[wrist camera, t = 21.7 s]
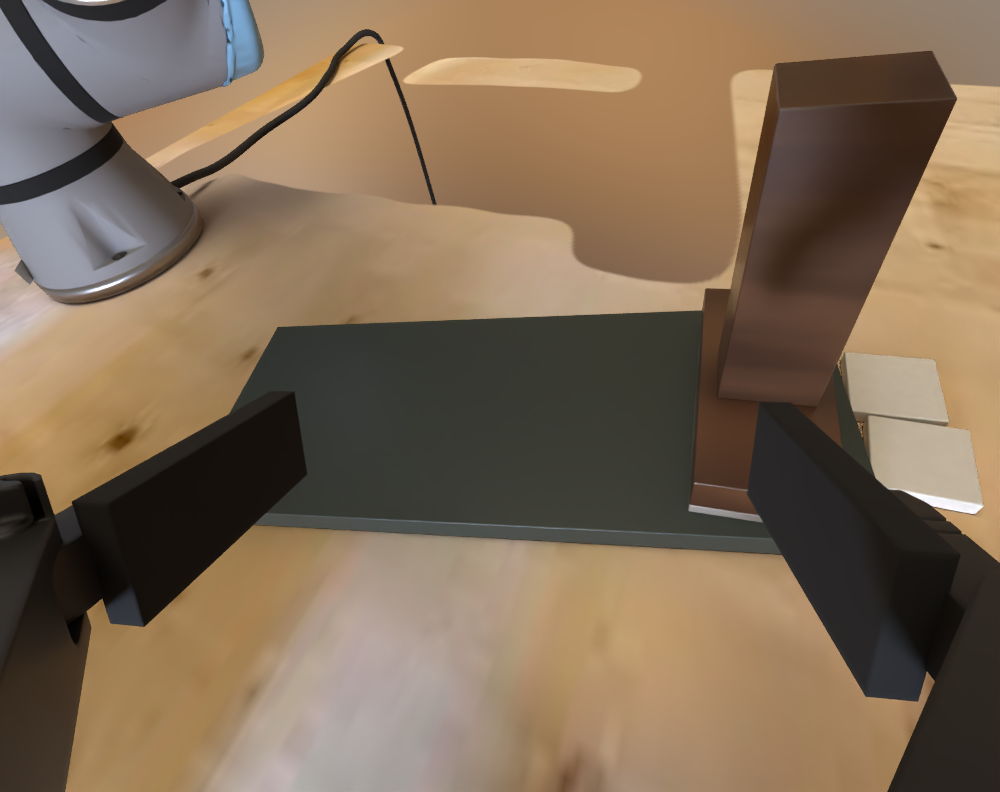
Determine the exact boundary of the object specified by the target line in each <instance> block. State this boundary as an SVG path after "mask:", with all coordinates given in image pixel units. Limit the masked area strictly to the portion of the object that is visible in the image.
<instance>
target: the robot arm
mask: <svg viewBox="0 0 1000 792" xmlns="http://www.w3.org/2000/svg"><path fill="white" fill-rule="evenodd" d="M364 36H372V37H374V38H375V39H376V40H377V42H378V43H379V44H384V42H383V40H382V38H381V37H380V36H379V34H377V33H376V32H375V31H372V30H369V29H368V30H367V29H365V30H362V31H359V32H358V33H356V34H355V35H354V36H353V37H352V38H351V39H350V40H349V41H348V42H347V43H346V45H344V46H343V47H342V48H341V49H340V50H339V51H338V52H337V53H336V54H335V55H334V57H333V59H332V61H331V64H330V66H329V68H328V70H327V71H326V73H325V74H324V76H323V77H322V79H321V80H320V82H319V83H318V85H317V86H316V87H315V88H314V89H313V90H312V91H311V92H310V93H309V94H308V95H307V96H306V97H305V98H304V99H303V100H301V101H300V102H299V103H297V104H296V105H295V106H293V107H292V108H290V109H289V110H287V111H286V112H284V113H283V114H281V115H280V116H278V117H277V118H275V119H274V120H272V121H270V122H269V123H267V124H266V125H265V126H263V127H262V128H260V129H259V130H258V131H257V132H255V133H254V134H253V135H252V136H250V137H249V138H248V139H247V140H246V141H244V142H243V143H242V144H241V145H239V146H238V147H237V148H236V149H234V150H233V151H232V152H230V153H229V154H228V155H227V156H225V157H223V158H222V159H220V160H219V161H217V162H215V163H214V164H212V165H210V166H208V167H205V168H202V169H200V170H197V171H194V172H192V173H190V174H188V175H185V176H183V177H181V178H179V179H177V180H174V181H172V182H169V181H168V180H167V179H166V178H165V177H164V176H163V175H162V174H161V173H160V172H159V171H157V170H156V169H155V168H154V167H153V166H152V165H151V164H149V163H148V162H147V161H146V160H145V159H143V158H142V157H141V156H140V155H139V154H137V153H136V152H135V151H134V150H133V149H131V147H130V146H129V145H128V144H127V143H126V141H125V140H124V138H123V137H122V136H121V134H120V133H119V132H118V130H117V129H116V128H115V126H114V125H113V123H112V122H111V121H113V120H115V119H118V118H122V117H124V116H127V115H131V114H134V113H137V112H140V111H144V110H147V109H150V108H153V107H156V106H160V105H163V104H166V103H169V102H173V101H176V100H179V99H182V98H186V97H189V96H192V95H195V94H198V93H202V92H205V91H208V90H211V89H215V88H218V87H221V86H223V87H225V86H228V85H229V84H230V83H231V82H232V81H233V80H236V79H238V78H240V77H243V76H245V75H248V74H250V73H253V72H255V71H256V70H258V69H259V67H260V66H261V64H262V62H263V58H264V50H263V44H262V40H261V37H260V34H259V30H258V27H257V24H256V21H255V18H254V15H253V12H252V9H251V6H250V3H249V0H0V222H1V224H2V226H3V228H4V229H5V231H6V233H7V235H8V237H9V239H10V240H11V242H12V244H13V246H14V247H15V249H16V251H17V253H18V254H19V256H20V258H21V259H22V260H21V261H20V263H19V264H18V266H17V267H16V269H15V271H16V272H17V273H18V274H19V275H20V276H21V277H22V278H23V279H24V280H25V281H26V282H28V283H29V284H31V282H32V280H33V281H34V282H35V283H36V284H37V285H38V286H39V287H40V288H41V289H42V290H43V291H44V292H45V293H46V294H47V295H49V296H50V297H51V298H52V299H54V300H56V301H59V302H64V303H83V302H90V301H95V300H99V299H103V298H107V297H110V296H113V295H116V294H119V293H121V292H124V291H127V290H129V289H131V288H133V287H135V286H138V285H140V284H142V283H144V282H145V281H147V280H149V279H151V278H153V277H154V276H156V275H158V274H159V273H161V272H162V271H164V270H165V269H167V268H168V267H169V266H171V265H172V264H173V263H175V262H176V261H177V260H178V259H180V258H181V257H182V256H183V255H184V254H185V253H186V252H187V251H188V250H189V249H190V248H191V247H192V245H193V244H194V243H195V242H196V240H197V239H198V237H199V235H200V233H201V231H202V228H203V223H204V221H203V216H202V214H201V213H200V211H199V210H198V208H197V207H196V206H195V204H194V203H193V201H192V200H191V199H190V198H189V197H188V196H187V195H186V194H185V193H184V192H183V191H182V190H181V189H179V188H181V187H183V186H185V185H187V184H189V183H191V182H194V181H196V180H198V179H201V178H203V177H206V176H208V175H211V174H213V173H215V172H217V171H219V170H221V169H222V168H224V167H225V166H227V165H228V164H230V163H231V162H233V161H234V160H235V159H237V158H238V157H239V156H240V155H242V154H243V153H244V152H245V151H246V150H247V149H249V148H250V147H251V146H252V145H253V144H255V143H256V142H257V141H258V140H259V139H261V138H262V137H263V136H265V135H266V134H267V133H269V132H270V131H271V130H273V129H274V128H276V127H277V126H279V125H280V124H282V123H283V122H285V121H286V120H288V119H289V118H291V117H292V116H294V115H295V114H297V113H298V112H299V111H301V110H302V109H303V108H305V107H306V106H307V105H308V104H310V102H312V101H313V100H314V99H315V98H316V97H317V96H318V95H319V93H320V92H321V91H322V89H323V88H324V87H325V85H326V84H327V82H328V81H329V79H330V78H331V76H332V75H333V73H334V71H335V69H336V66H337V64H338V61H339V60H340V58H341V57H342V56H343V55H344V54H345V53H346V52H347V51H348V50H349V49H350V48H351V47H352V46H353V45H354V44H355V43H356V42H357V41H358V40H359V39H361V38H362V37H364ZM385 62H386V65H387V67H388V70H389V72H390V75H391V77H392V80H393V82H394V85H395V87H396V90H397V93H398V95H399V98H400V101H401V103H402V106H403V109H404V112H405V114H406V118H407V121H408V124H409V127H410V130H411V133H412V136H413V139H414V143H415V146H416V149H417V153H418V156H419V159H420V162H421V166H422V169H423V173H424V176H425V180H426V183H427V187H428V190H429V193H430V197H431V201H432V204H433V205H437V204H436V200H435V197H434V193H433V190H432V186H431V183H430V179H429V176H428V172H427V169H426V165H425V162H424V158H423V155H422V151H421V148H420V145H419V141H418V138H417V135H416V131H415V128H414V125H413V122H412V119H411V116H410V113H409V110H408V107H407V104H406V101H405V98H404V95H403V93H402V90H401V88H400V85H399V82H398V79H397V77H396V74H395V72H394V69H393V67H392V64H391V61H390V58H387V59H385ZM306 475H307V469H306V462H305V456H304V449H303V443H302V437H301V430H300V424H299V417H298V411H297V405H296V398H295V392H294V391H270V392H268V393H266V394H264V395H262V396H261V397H259V398H257V399H255V400H254V401H252V402H250V403H248V404H246V405H245V406H243V407H241V408H239V409H237V410H236V411H234V412H232V413H230V414H228V415H227V416H225V417H223V418H221V419H219V420H218V421H216V422H214V423H212V424H210V425H209V426H207V427H205V428H203V429H201V430H200V431H198V432H196V433H194V434H192V435H191V436H189V437H187V438H185V439H184V440H182V441H180V442H178V443H176V444H175V445H173V446H171V447H169V448H167V449H166V450H164V451H162V452H160V453H158V454H157V455H155V456H153V457H151V458H149V459H148V460H146V461H144V462H142V463H140V464H139V465H137V466H135V467H133V468H131V469H130V470H128V471H126V472H124V473H123V474H121V475H119V476H117V477H115V478H114V479H112V480H110V481H108V482H106V483H105V484H103V485H101V486H99V487H97V488H96V489H94V490H92V491H90V492H88V493H87V494H85V495H83V496H81V497H79V498H78V499H76V500H74V501H72V504H73V505H72V506H70V507H68V508H67V509H65V510H63V511H61V512H60V513H58V514H56V515H54V513H53V510H52V507H51V504H50V501H49V498H48V495H47V492H46V489H45V486H44V483H43V480H42V477H41V475H39V474H36V473H16V474H9V475H3V476H0V792H65V789H66V783H67V777H68V770H69V764H70V758H71V752H72V745H73V739H74V733H75V727H76V720H77V714H78V708H79V702H80V695H81V689H82V683H83V677H84V671H85V664H86V658H87V652H88V646H89V639H90V633H91V624H90V621H89V618H88V615H87V612H86V611H87V610H88V609H90V608H91V607H92V606H93V605H95V604H96V603H97V602H98V601H100V600H101V599H102V598H103V602H104V605H105V608H106V611H107V614H108V617H109V620H110V623H111V624H121V625H132V626H142V627H145V626H146V625H147V624H148V623H149V622H150V621H151V620H152V619H153V618H154V617H155V616H156V615H158V614H159V613H160V612H161V611H162V610H163V609H164V608H165V607H166V606H167V605H168V604H169V603H170V602H171V601H173V600H174V599H175V598H176V597H177V596H178V595H179V594H180V593H181V592H182V591H183V590H184V589H185V588H186V587H187V586H189V585H190V584H191V583H192V582H193V581H194V580H195V579H196V578H197V577H198V576H199V575H200V574H201V573H202V572H204V571H205V570H206V569H207V568H208V567H209V566H210V565H211V564H212V563H213V562H214V561H215V560H216V559H217V558H219V557H220V556H221V555H222V554H223V553H224V552H225V551H226V550H227V549H228V548H229V547H230V546H231V545H232V544H234V543H235V542H236V541H237V540H238V539H239V538H240V537H241V536H242V535H243V534H244V533H245V532H246V531H247V530H248V529H250V528H251V527H252V526H253V525H254V524H255V523H256V522H257V521H258V520H259V519H260V518H261V517H262V516H263V515H265V514H266V513H267V512H268V511H269V510H270V509H271V508H272V507H273V506H274V505H275V504H276V503H277V502H278V501H280V500H281V499H282V498H283V497H284V496H285V495H286V494H287V493H288V492H289V491H290V490H291V489H292V488H293V487H295V486H296V485H297V484H298V483H299V482H300V481H301V480H302V479H303V478H304V477H305V476H306ZM747 496H748V498H749V499H750V501H751V503H752V504H753V506H754V508H755V510H756V511H757V513H758V515H759V516H760V518H761V520H762V521H763V523H764V525H765V527H766V528H767V530H768V532H769V533H770V535H771V537H772V538H773V540H774V542H775V543H776V545H777V547H778V549H779V550H780V552H781V554H782V555H783V557H784V559H785V560H786V562H787V564H788V566H789V567H790V569H791V571H792V572H793V574H794V576H795V577H796V579H797V581H798V583H799V584H800V586H801V588H802V589H803V591H804V593H805V594H806V596H807V598H808V600H809V601H810V603H811V605H812V606H813V608H814V610H815V611H816V613H817V615H818V616H819V618H820V620H821V622H822V623H823V625H824V627H825V628H826V630H827V632H828V633H829V635H830V637H831V639H832V640H833V642H834V644H835V645H836V647H837V649H838V650H839V652H840V654H841V656H842V657H843V659H844V661H845V662H846V664H847V666H848V667H849V669H850V671H851V672H852V674H853V676H854V678H855V679H856V681H857V683H858V684H859V686H860V688H861V689H862V691H863V693H864V695H865V696H866V697H876V698H886V699H897V700H907V701H917V702H918V700H919V696H920V693H921V689H922V686H923V682H924V679H925V676H926V672H927V671H928V673H929V674H930V675H931V677H932V678H933V679H934V681H935V683H934V685H933V687H932V690H931V692H930V694H929V697H928V699H927V701H926V704H925V706H924V708H923V711H922V713H921V715H920V717H919V720H918V722H917V724H916V727H915V729H914V731H913V734H912V736H911V738H910V741H909V743H908V745H907V748H906V750H905V752H904V754H903V757H902V759H901V761H900V764H899V766H898V768H897V771H896V773H895V775H894V778H893V780H892V782H891V785H890V787H889V789H888V792H1000V563H999V562H998V561H997V560H995V559H994V558H993V557H992V556H991V555H989V554H988V553H987V552H986V551H985V550H983V549H982V548H981V547H980V546H978V545H977V544H976V543H975V542H974V541H972V540H971V539H970V538H969V537H968V536H966V535H964V534H961V531H960V530H959V529H958V528H957V527H956V526H954V525H953V524H952V523H951V522H948V521H946V518H945V517H944V516H942V515H941V514H940V513H939V512H938V511H936V510H935V509H934V508H933V507H932V506H930V505H929V504H928V503H926V502H924V501H922V500H920V499H918V498H916V497H914V496H912V495H910V494H908V493H906V492H904V491H902V490H890V489H887V488H886V487H885V486H884V485H883V484H882V483H881V482H879V481H878V480H877V479H876V478H875V477H874V476H873V475H872V474H870V473H869V472H868V471H867V470H866V469H865V468H864V467H863V466H861V465H860V464H859V463H858V462H857V461H856V460H855V459H854V458H853V457H851V456H850V455H849V454H848V453H847V452H846V451H845V450H844V449H842V448H841V447H840V446H839V445H838V444H837V443H836V442H835V441H833V440H832V439H831V438H830V437H829V436H828V435H827V434H826V433H825V432H823V431H822V430H821V429H820V428H819V427H818V426H817V425H816V424H814V423H813V422H812V421H811V420H810V419H809V418H808V417H807V416H805V415H804V414H803V413H802V412H801V411H800V410H799V409H798V408H797V407H795V406H794V405H793V404H792V403H791V402H759V410H758V417H757V424H756V432H755V439H754V446H753V454H752V461H751V469H750V476H749V483H748V491H747Z"/></svg>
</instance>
